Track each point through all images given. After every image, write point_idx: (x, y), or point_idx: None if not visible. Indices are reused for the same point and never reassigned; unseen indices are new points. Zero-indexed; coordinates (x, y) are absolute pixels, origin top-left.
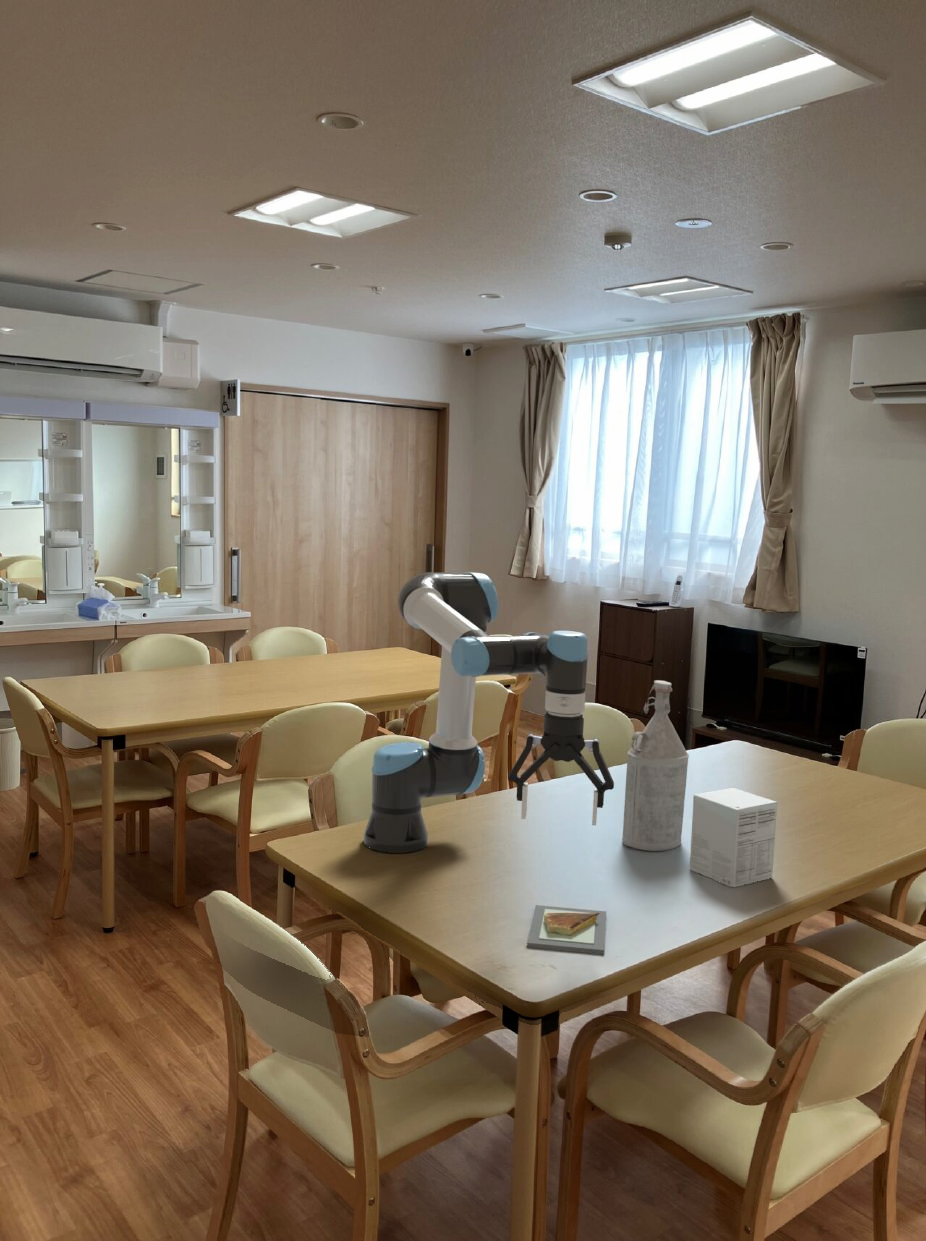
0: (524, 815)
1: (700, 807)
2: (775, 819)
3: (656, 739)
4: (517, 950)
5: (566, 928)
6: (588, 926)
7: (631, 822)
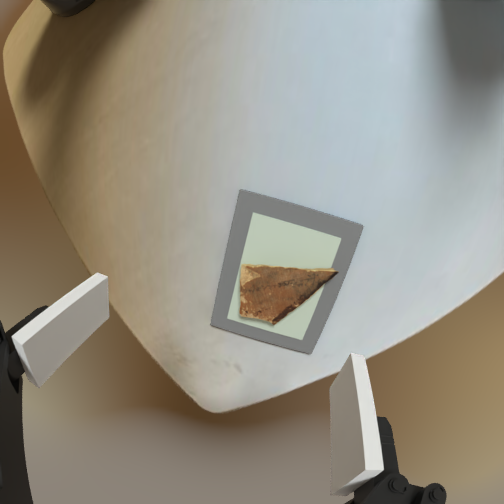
0: (100, 322)
1: None
2: None
3: None
4: (199, 328)
5: (266, 320)
6: None
7: None
